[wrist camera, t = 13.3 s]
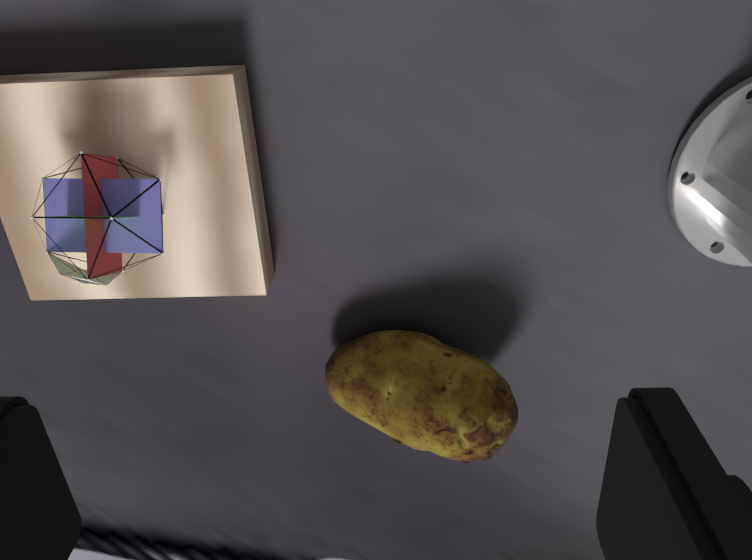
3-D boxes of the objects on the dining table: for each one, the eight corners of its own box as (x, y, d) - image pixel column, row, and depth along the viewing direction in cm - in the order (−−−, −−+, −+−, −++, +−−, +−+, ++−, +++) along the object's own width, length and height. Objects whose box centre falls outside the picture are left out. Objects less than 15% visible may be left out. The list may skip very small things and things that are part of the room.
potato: (365, 280, 43) (358, 346, 36) (521, 350, 45) (544, 424, 38) (318, 366, 47) (303, 440, 40) (465, 426, 49) (476, 506, 42)
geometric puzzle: (27, 116, 33) (-17, 249, 30) (152, 117, 33) (123, 251, 29) (88, 189, 40) (58, 304, 36) (193, 190, 39) (172, 306, 36)
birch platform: (244, 64, 36) (232, 74, 34) (274, 273, 43) (266, 295, 40) (-16, 76, 37) (-48, 86, 34) (53, 279, 44) (30, 300, 41)
